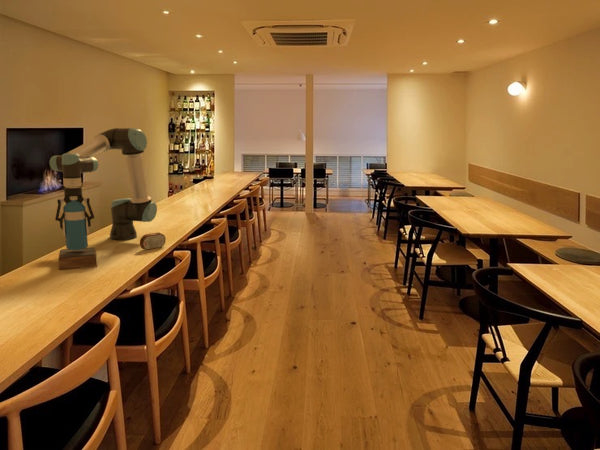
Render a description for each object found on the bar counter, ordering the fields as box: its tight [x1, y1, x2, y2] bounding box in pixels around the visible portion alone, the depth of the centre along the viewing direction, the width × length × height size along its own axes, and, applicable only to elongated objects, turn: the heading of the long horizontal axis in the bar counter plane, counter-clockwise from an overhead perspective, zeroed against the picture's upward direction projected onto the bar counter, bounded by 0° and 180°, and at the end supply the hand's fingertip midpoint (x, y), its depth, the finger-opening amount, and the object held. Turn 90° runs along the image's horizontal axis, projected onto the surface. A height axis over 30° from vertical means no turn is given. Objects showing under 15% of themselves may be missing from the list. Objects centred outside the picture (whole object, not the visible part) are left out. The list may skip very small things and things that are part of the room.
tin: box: [139, 232, 166, 251], centre depth 265 cm, size 15×3×8 cm, turn 141°
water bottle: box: [63, 196, 89, 250], centre depth 230 cm, size 9×9×25 cm
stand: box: [57, 246, 98, 271], centre depth 233 cm, size 16×16×6 cm
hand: (76, 234), depth 231 cm, fingers closed on water bottle, 9 cm apart
